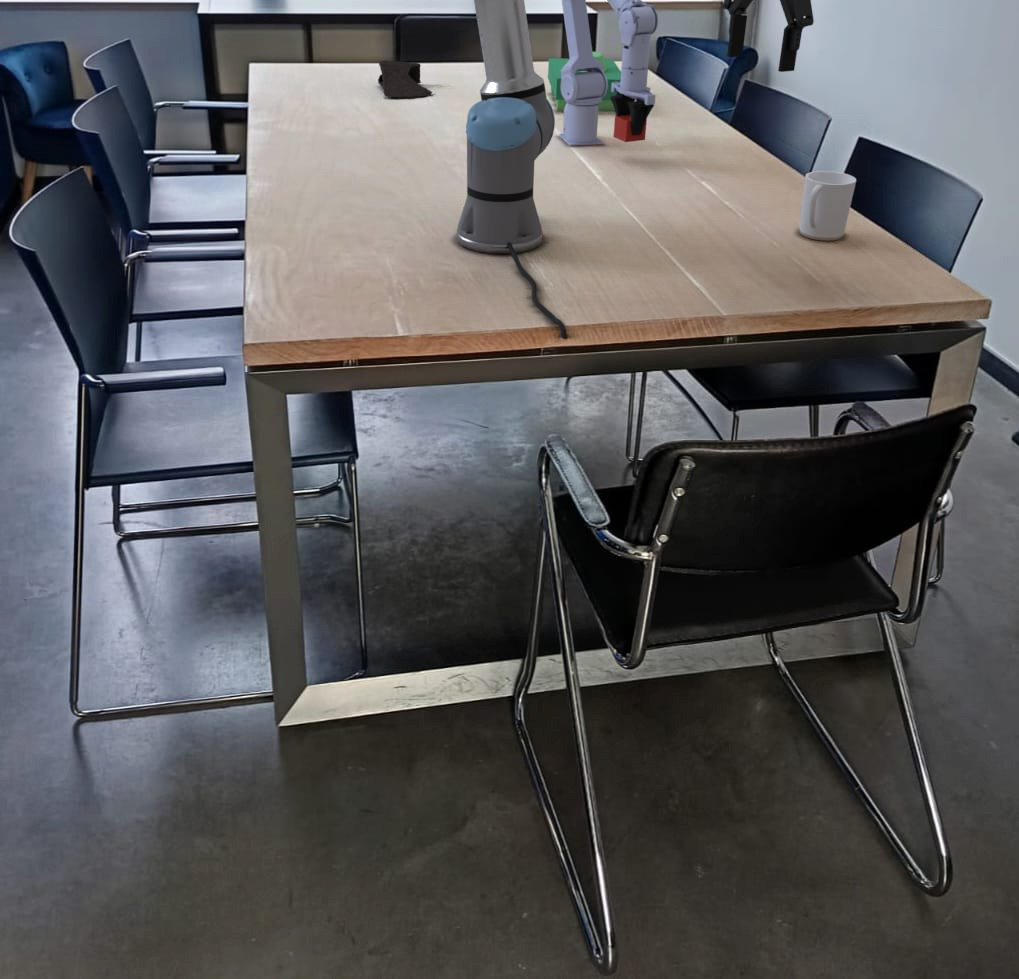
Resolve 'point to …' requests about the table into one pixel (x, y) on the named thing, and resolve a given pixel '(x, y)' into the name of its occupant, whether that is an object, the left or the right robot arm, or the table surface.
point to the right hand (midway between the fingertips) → (629, 132)
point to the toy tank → (557, 64)
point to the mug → (826, 204)
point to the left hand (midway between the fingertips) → (759, 63)
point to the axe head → (401, 79)
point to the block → (626, 129)
